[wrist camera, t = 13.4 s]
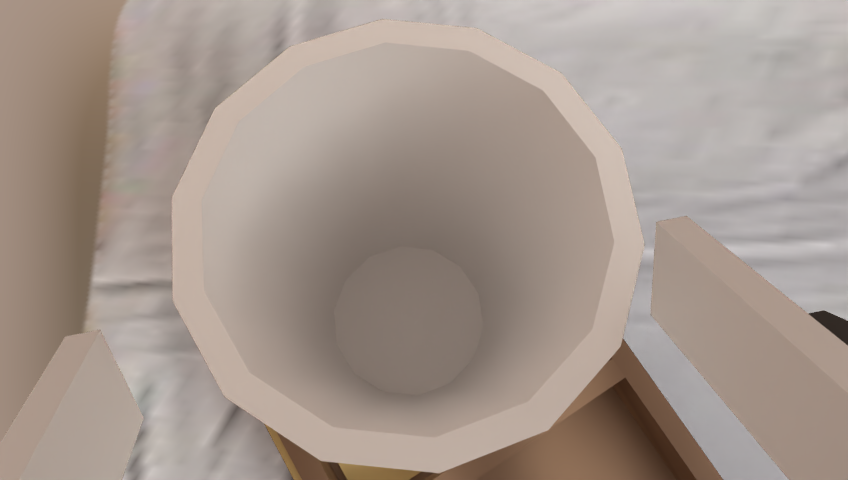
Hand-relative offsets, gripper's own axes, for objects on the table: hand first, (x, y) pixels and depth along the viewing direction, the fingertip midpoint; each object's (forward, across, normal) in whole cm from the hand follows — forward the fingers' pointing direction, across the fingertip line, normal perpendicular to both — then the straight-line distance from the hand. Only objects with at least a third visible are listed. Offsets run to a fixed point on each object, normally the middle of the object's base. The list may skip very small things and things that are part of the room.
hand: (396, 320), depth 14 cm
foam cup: (+8, 0, -6) cm, 10 cm away
